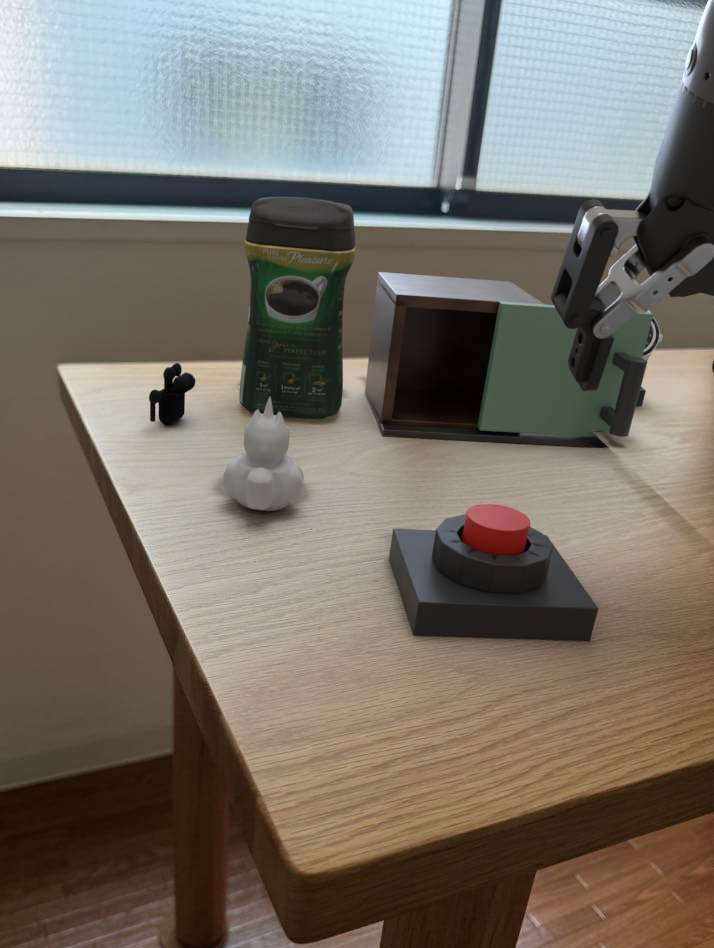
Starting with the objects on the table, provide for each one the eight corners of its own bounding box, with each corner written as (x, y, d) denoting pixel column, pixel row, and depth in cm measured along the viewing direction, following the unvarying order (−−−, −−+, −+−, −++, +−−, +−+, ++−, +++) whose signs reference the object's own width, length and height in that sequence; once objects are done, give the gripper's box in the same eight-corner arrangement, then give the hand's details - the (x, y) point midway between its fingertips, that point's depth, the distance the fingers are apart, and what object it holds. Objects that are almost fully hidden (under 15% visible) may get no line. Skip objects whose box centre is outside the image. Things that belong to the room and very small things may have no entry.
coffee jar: (343, 402, 83) (363, 199, 75) (337, 428, 76) (359, 207, 68) (245, 391, 84) (255, 189, 76) (230, 416, 77) (240, 196, 69)
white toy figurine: (304, 495, 62) (313, 389, 59) (296, 535, 56) (305, 420, 53) (230, 487, 62) (235, 381, 59) (214, 526, 56) (218, 411, 53)
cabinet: (572, 405, 89) (599, 288, 83) (620, 449, 77) (655, 316, 72) (364, 393, 87) (378, 271, 81) (382, 436, 75) (399, 298, 70)
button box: (540, 565, 55) (552, 509, 54) (589, 642, 47) (606, 579, 46) (388, 558, 54) (396, 501, 53) (413, 636, 46) (423, 572, 45)
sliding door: (617, 434, 78) (648, 311, 73) (640, 455, 73) (676, 325, 68) (477, 426, 77) (499, 301, 72) (492, 447, 72) (517, 314, 67)
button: (514, 531, 51) (520, 505, 50) (532, 560, 48) (538, 532, 47) (455, 529, 51) (460, 502, 50) (469, 557, 47) (475, 529, 47)
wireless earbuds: (181, 409, 77) (181, 354, 75) (206, 414, 77) (207, 359, 75) (144, 432, 71) (144, 373, 69) (171, 437, 71) (172, 378, 69)
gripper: (649, 114, 35) (555, 426, 47) (970, 113, 36) (800, 416, 48) (590, 55, 40) (519, 348, 52) (873, 55, 41) (741, 342, 53)
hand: (654, 381), depth 50 cm, fingers open, 8 cm apart
